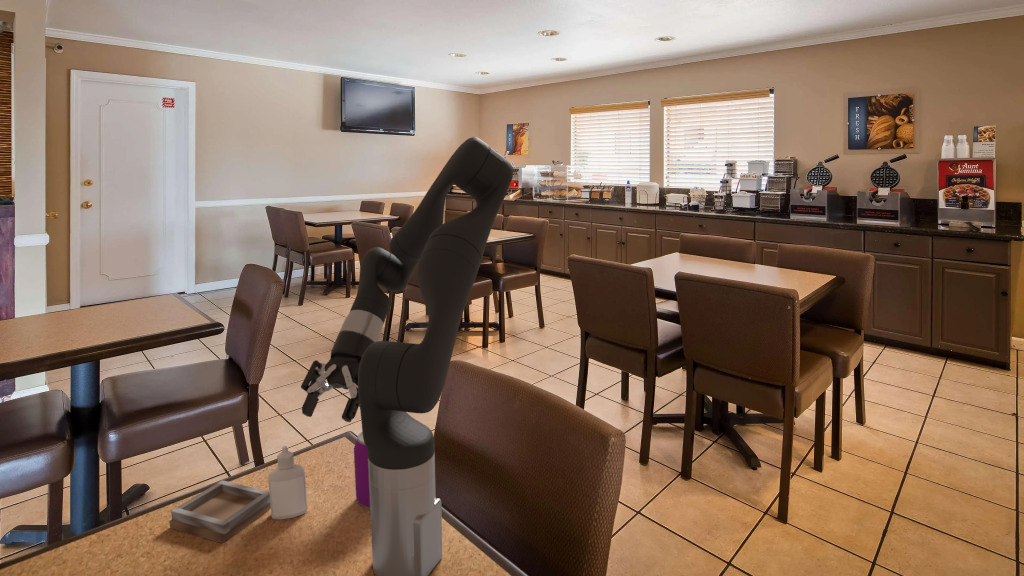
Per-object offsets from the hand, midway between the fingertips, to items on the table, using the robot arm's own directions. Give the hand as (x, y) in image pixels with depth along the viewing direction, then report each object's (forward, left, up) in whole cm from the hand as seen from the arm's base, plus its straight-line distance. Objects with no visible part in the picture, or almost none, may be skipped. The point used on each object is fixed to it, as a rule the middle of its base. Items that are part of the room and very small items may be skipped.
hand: (325, 417), depth 101 cm
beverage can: (-11, +1, -13) cm, 17 cm away
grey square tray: (+10, +14, -13) cm, 22 cm away
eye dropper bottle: (0, +10, -13) cm, 16 cm away
